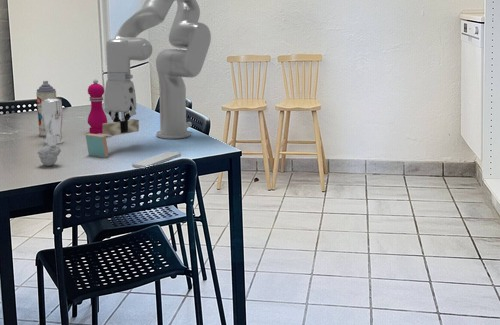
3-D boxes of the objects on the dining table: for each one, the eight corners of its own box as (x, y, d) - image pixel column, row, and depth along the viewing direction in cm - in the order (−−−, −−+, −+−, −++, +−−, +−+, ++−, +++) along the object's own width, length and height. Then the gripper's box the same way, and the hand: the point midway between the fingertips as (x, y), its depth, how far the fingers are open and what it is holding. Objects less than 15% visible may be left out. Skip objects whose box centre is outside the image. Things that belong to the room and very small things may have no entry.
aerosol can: (38, 134, 244) (34, 80, 239) (57, 133, 247) (54, 79, 242) (40, 137, 238) (36, 82, 233) (59, 136, 241) (56, 81, 236)
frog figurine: (61, 167, 198) (60, 144, 196) (37, 168, 196) (35, 145, 195) (62, 162, 204) (61, 140, 202) (39, 163, 202) (37, 141, 200)
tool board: (167, 153, 216) (167, 151, 216) (180, 155, 214) (180, 153, 213) (132, 166, 199) (132, 164, 199) (145, 168, 197) (145, 166, 197)
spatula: (130, 130, 230) (130, 118, 229) (141, 131, 228) (141, 120, 227) (91, 136, 212) (91, 124, 212) (103, 138, 210) (103, 125, 209)
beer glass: (58, 139, 236) (55, 97, 232) (68, 142, 231) (65, 100, 228) (40, 142, 231) (37, 99, 228) (50, 145, 226) (47, 102, 223)
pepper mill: (105, 134, 245) (102, 80, 240) (86, 134, 245) (83, 80, 240) (109, 130, 252) (107, 78, 247) (90, 130, 252) (88, 78, 247)
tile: (91, 153, 215) (88, 133, 212) (108, 156, 212) (105, 135, 209) (88, 155, 213) (85, 134, 211) (105, 157, 210) (102, 137, 208)
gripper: (145, 77, 217) (146, 132, 221) (107, 74, 224) (109, 127, 228) (131, 79, 210) (133, 136, 215) (92, 76, 217) (94, 131, 222)
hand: (120, 131), depth 221 cm, fingers closed on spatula, 2 cm apart
